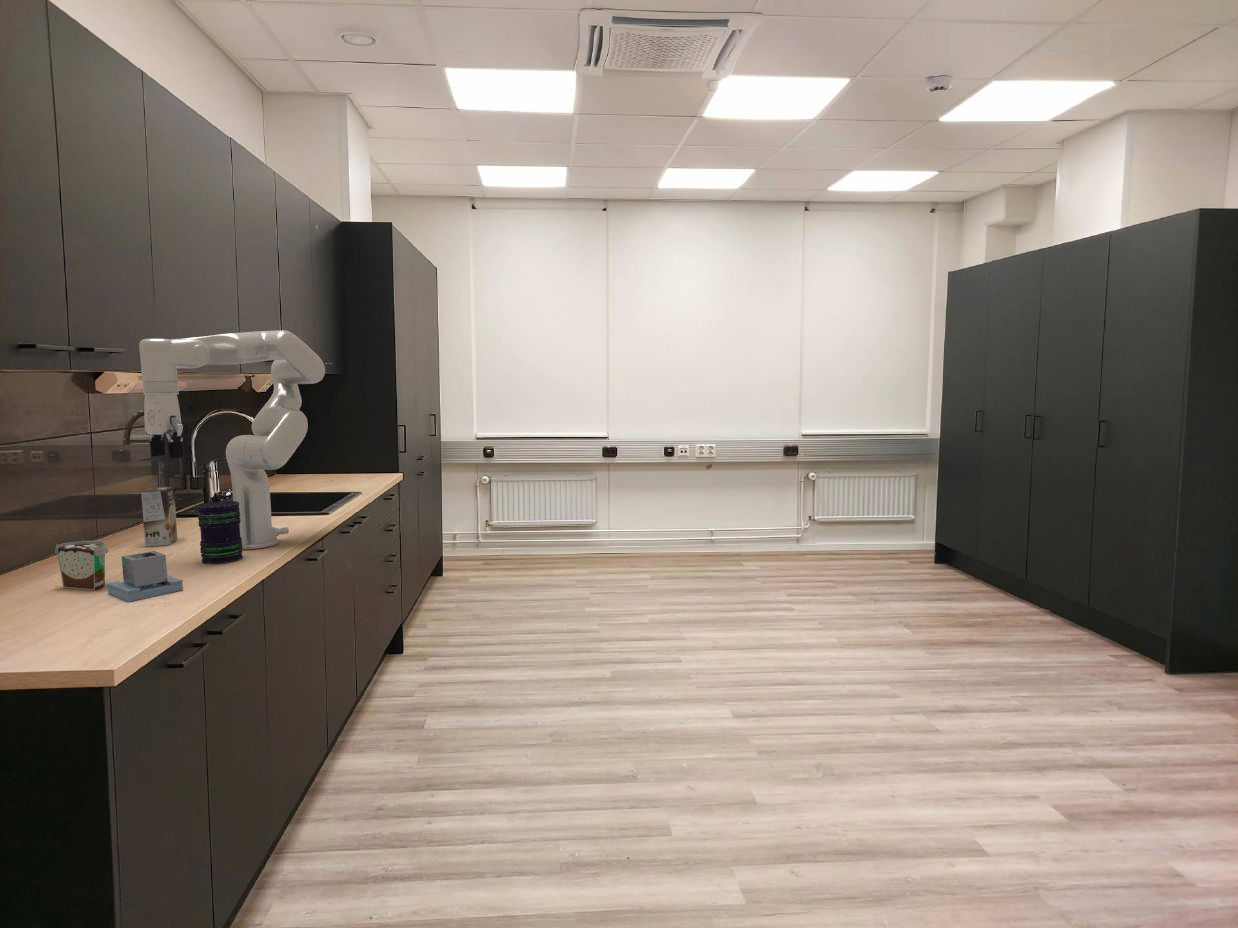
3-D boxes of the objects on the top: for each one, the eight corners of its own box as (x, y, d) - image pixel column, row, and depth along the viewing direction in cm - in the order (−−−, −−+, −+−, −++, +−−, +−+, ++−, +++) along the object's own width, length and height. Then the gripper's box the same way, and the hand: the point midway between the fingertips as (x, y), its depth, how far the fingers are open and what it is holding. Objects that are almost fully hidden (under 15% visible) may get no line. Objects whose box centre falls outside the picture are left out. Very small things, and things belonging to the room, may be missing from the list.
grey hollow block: (156, 576, 174) (154, 550, 173) (167, 580, 169) (165, 554, 169) (123, 582, 169) (121, 556, 168) (134, 587, 164) (132, 560, 164)
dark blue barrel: (211, 566, 192) (207, 508, 190) (194, 560, 198) (189, 504, 196) (250, 558, 200) (246, 503, 198) (232, 553, 206) (228, 499, 204)
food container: (124, 583, 176) (120, 541, 175) (99, 590, 170) (96, 547, 169) (83, 580, 180) (79, 539, 178) (58, 587, 174) (54, 544, 173)
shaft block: (161, 582, 177) (158, 551, 176) (182, 589, 170) (180, 557, 170) (108, 593, 168) (105, 560, 167) (128, 601, 162) (125, 567, 161)
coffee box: (170, 545, 217) (165, 490, 215) (144, 547, 215) (140, 491, 213) (178, 539, 226) (174, 486, 224) (153, 540, 224) (149, 487, 222)
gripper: (129, 389, 190) (135, 456, 192) (160, 389, 180) (166, 460, 182) (161, 388, 196) (167, 453, 198) (193, 388, 186) (199, 457, 188)
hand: (167, 456), depth 190 cm, fingers open, 9 cm apart
